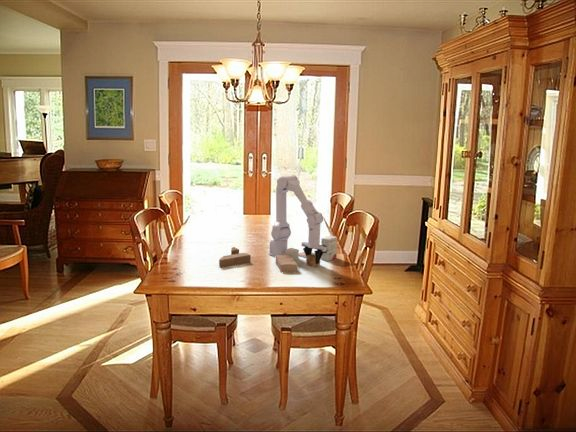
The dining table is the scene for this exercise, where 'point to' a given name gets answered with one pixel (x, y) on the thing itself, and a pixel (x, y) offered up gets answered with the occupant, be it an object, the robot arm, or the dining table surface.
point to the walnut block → (311, 260)
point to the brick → (286, 263)
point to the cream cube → (292, 252)
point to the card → (303, 254)
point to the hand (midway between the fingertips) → (313, 262)
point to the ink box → (329, 248)
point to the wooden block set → (234, 258)
